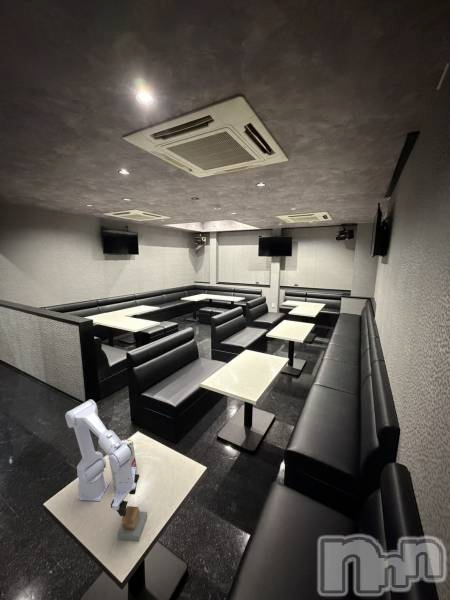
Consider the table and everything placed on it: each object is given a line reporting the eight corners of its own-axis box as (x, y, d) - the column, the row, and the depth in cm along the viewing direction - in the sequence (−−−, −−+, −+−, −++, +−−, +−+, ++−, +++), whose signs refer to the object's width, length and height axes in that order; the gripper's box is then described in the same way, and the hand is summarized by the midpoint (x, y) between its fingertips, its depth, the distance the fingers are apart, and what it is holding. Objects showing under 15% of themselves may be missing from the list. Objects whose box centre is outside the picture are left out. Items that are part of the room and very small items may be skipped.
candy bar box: (127, 466, 117) (124, 438, 113) (137, 467, 116) (133, 440, 112) (113, 488, 106) (108, 458, 102) (123, 490, 105) (118, 460, 101)
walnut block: (123, 529, 89) (121, 519, 88) (128, 515, 93) (127, 506, 92) (134, 530, 88) (133, 520, 87) (139, 516, 93) (138, 506, 92)
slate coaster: (118, 540, 88) (117, 534, 87) (128, 516, 96) (127, 510, 95) (139, 541, 87) (138, 535, 87) (147, 517, 95) (146, 511, 94)
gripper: (124, 496, 80) (128, 526, 83) (142, 458, 94) (145, 485, 97) (104, 495, 80) (109, 525, 83) (125, 457, 94) (129, 484, 97)
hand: (127, 503), depth 90 cm, fingers open, 7 cm apart
